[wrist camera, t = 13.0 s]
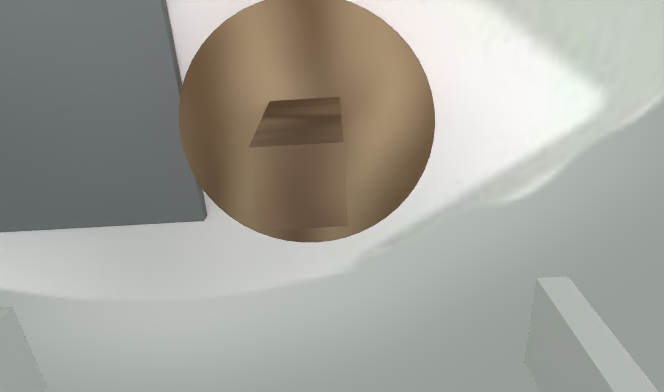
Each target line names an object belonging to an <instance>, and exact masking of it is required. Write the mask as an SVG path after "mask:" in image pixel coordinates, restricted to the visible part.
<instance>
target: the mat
mask: <svg viewBox="0 0 664 392" xmlns="http://www.w3.org/2000/svg"><path fill="white" fill-rule="evenodd" d="M181 89H182V83H181V78H180V72H179V67H178V62H177V57H176V52H175V46H174V41H173V36H172V31H171V26H170V20H169V15H168V10H167V5H166V0H0V232H14V231H32V230H50V229H68V228H86V227H103V226H121V225H139V224H157V223H175V222H193V221H204V220H205V218H206V216H207V212H206V207H205V202H204V197H203V192H202V187H201V186H200V184H199V183H198V181H197V179H196V178H195V176H194V174H193V172H192V171H191V168H190V166H189V164H188V161H187V159H186V156H185V153H184V150H183V146H182V142H181V137H180V130H179V102H180V95H181Z"/></svg>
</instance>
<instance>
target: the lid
mask: <svg viewBox="0 0 664 392" xmlns="http://www.w3.org/2000/svg"><path fill="white" fill-rule="evenodd" d="M434 129H435V113H434V104H433V98H432V92H431V89H430V86H429V83H428V80H427V76H426V74H425V72H424V70H423V68H422V66H421V64H420V62H419V60H418V58H417V57H416V55H415V54H414V52H413V51H412V49H411V48H410V46H409V45H408V44H407V43H406V42H405V40H404V39H403V38H402V37H401V36H400V35H399V34H398V33H397V32H396V31H395V30H394V29H393V28H392V27H391V26H389V25H388V24H387V23H386V22H385V21H384V20H382V19H381V18H379V17H378V16H376V15H375V14H373V13H372V12H370V11H368V10H367V9H365V8H362V7H360V6H358V5H356V4H354V3H352V2H349V1H345V0H264V1H261V2H259V3H256V4H254V5H252V6H250V7H248V8H245V9H243V10H241V11H240V12H238V13H237V14H235V15H233V16H232V17H230V18H229V19H227V20H226V21H225V22H224V23H223V24H221V25H220V26H219V27H218V28H217V29H216V30H214V31H213V33H212V34H211V35H210V36H209V37H208V38H207V39H206V41H205V42H204V43H203V44H202V45H201V47H200V49H199V50H198V52H197V53H196V55H195V56H194V58H193V60H192V62H191V64H190V66H189V69H188V71H187V73H186V76H185V79H184V82H183V86H182V89H181V95H180V102H179V130H180V137H181V142H182V146H183V150H184V153H185V156H186V159H187V161H188V164H189V166H190V168H191V171H192V172H193V174H194V176H195V178H196V179H197V181H198V183H199V184H200V186H201V187H202V188H203V190H204V191H205V192H206V194H207V195H208V196H209V197H210V198H211V199H212V200H213V201H214V203H215V204H216V205H217V206H218V207H219V208H221V209H222V210H223V211H224V212H225V213H227V214H228V215H229V216H230V217H232V218H233V219H235V220H236V221H238V222H239V223H241V224H243V225H244V226H246V227H248V228H250V229H252V230H254V231H257V232H259V233H262V234H265V235H267V236H270V237H274V238H278V239H282V240H287V241H295V242H323V241H332V240H336V239H340V238H345V237H348V236H351V235H354V234H356V233H359V232H362V231H364V230H366V229H368V228H370V227H372V226H374V225H375V224H377V223H378V222H380V221H381V220H383V219H384V218H386V217H387V216H388V215H389V214H391V213H392V212H393V211H394V210H395V209H397V208H398V207H399V206H400V205H401V203H402V202H403V201H404V200H405V199H406V198H407V197H408V196H409V194H410V193H411V192H412V190H413V189H414V187H415V186H416V185H417V183H418V181H419V179H420V177H421V175H422V174H423V172H424V170H425V167H426V164H427V162H428V159H429V157H430V153H431V148H432V144H433V139H434Z"/></svg>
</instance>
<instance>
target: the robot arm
mask: <svg viewBox="0 0 664 392" xmlns="http://www.w3.org/2000/svg"><path fill="white" fill-rule="evenodd" d="M524 363H525V365H526V367H527V369H528V371H529V373H530V375H531V377H532V379H533V381H534V383H535V385H536V387H537V389H538V391H539V392H658V391H657V389H656V388H655V387H654V386H653V384H652V383H651V382H650V381H649V379H648V378H647V377H646V375H645V374H644V373H643V372H642V370H641V369H640V368H639V367H638V365H637V364H636V363H635V362H634V360H633V359H632V358H631V356H630V355H629V354H628V353H627V351H626V350H625V349H624V347H623V346H622V345H621V344H620V343H619V341H618V340H617V339H616V337H615V336H614V335H613V334H612V332H611V331H610V330H609V329H608V327H607V326H606V325H605V323H604V322H603V321H602V319H601V318H600V317H599V316H598V314H597V313H596V312H595V311H594V309H593V308H592V307H591V305H590V304H589V303H588V302H587V300H586V299H585V298H584V297H583V295H582V294H581V293H580V291H579V290H578V289H577V288H576V286H575V285H574V284H573V283H572V281H571V280H570V279H569V278H568V277H551V278H537V279H536V286H535V292H534V299H533V306H532V312H531V319H530V326H529V332H528V339H527V346H526V352H525V359H524ZM46 388H47V386H46V384H45V381H44V379H43V377H42V374H41V372H40V370H39V368H38V365H37V363H36V361H35V358H34V356H33V354H32V351H31V349H30V347H29V345H28V342H27V340H26V338H25V336H24V333H23V331H22V328H21V326H20V324H19V321H18V319H17V317H16V314H15V312H14V310H13V307H4V308H0V392H44V391H45V389H46Z"/></svg>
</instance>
